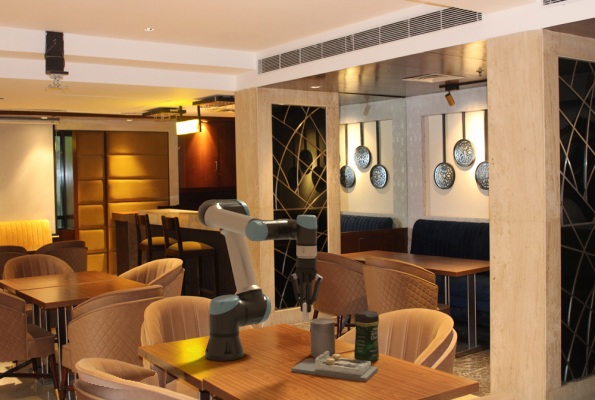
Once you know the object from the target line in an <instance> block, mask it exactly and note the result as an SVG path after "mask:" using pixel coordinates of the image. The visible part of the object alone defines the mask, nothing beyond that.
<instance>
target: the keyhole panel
mask: <svg viewBox="0 0 595 400" xmlns="http://www.w3.org/2000/svg"><path fill="white" fill-rule="evenodd" d="M314 358H315V357H314ZM328 358H332V357H330V356H329V351H326V352H324V353H323V354H321V355H320V356H318V357H317V358H315V370H319V371H327V372H334V373H342V374H350V375H358V376H362V375H363V374H364V373H365V372H366V371H367V370H368V369H369V368H371V366H372V365H371V364H372V363H371V362H372V361H364V360H356V359H355V358H347V357H341V358H339V360H335V362H334V363H333V365H330V364H328V363H327V362H326V359H328ZM333 359H334V358H333Z"/></svg>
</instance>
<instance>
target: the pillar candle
mask: <svg viewBox="0 0 595 400" xmlns="http://www.w3.org/2000/svg"><path fill="white" fill-rule="evenodd" d="M309 322H310V355H311V357H313V358H317V357H318V356H320V355H321V354H323V353H324V352H326V351H329V356H330V357H332V355H333V354H336V333H335V332H336V331H335V330H336V329H335V328H336V327H335V320H334V319H333V318H326V317H325V318H324V317H321V318H313V319H311V320H309Z"/></svg>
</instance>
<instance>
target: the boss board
mask: <svg viewBox="0 0 595 400" xmlns="http://www.w3.org/2000/svg"><path fill="white" fill-rule="evenodd" d="M333 358H334V359H333ZM339 358H342V356H341V354H340V353H335V354H333V355H332V358H328V359H326V362H327V363H328V364H330V365H333V363H334V362H335V360H339ZM378 371H379V366H372V365H371V368H369V369H368V370H367V371H366V372H365V373H364V374H363V375H362V376H358V375H350V374H342V373H334V372H327V371H319V370H315V359H314V358H305V359H304V360H302V361H300V362H299V363H298V364H296V365H295V366H293V367H291V372H292V373H298V374H305V375H313V376H320V377H328V378H337V379H343V380H350V381H351V380H352V381H359V382H365V383H367V382H368V381H367V380H370V379H371V378H372V377H373V376H374V375H375V374H376V373H377V372H378Z"/></svg>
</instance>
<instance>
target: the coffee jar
mask: <svg viewBox="0 0 595 400" xmlns="http://www.w3.org/2000/svg"><path fill="white" fill-rule="evenodd" d="M379 323H380V316H379V313H378V312H377V311H373V310H367V311H361V312H357V313H356V314H354V326H355V339H354V341H355V342H354V355H353V359H356V360H364V361H371V362H373V361H376V360H378V359H379V358H380V356H379V355H380V353H379V352H380V351H379V333H378V332H379V330H378V329H379Z"/></svg>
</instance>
